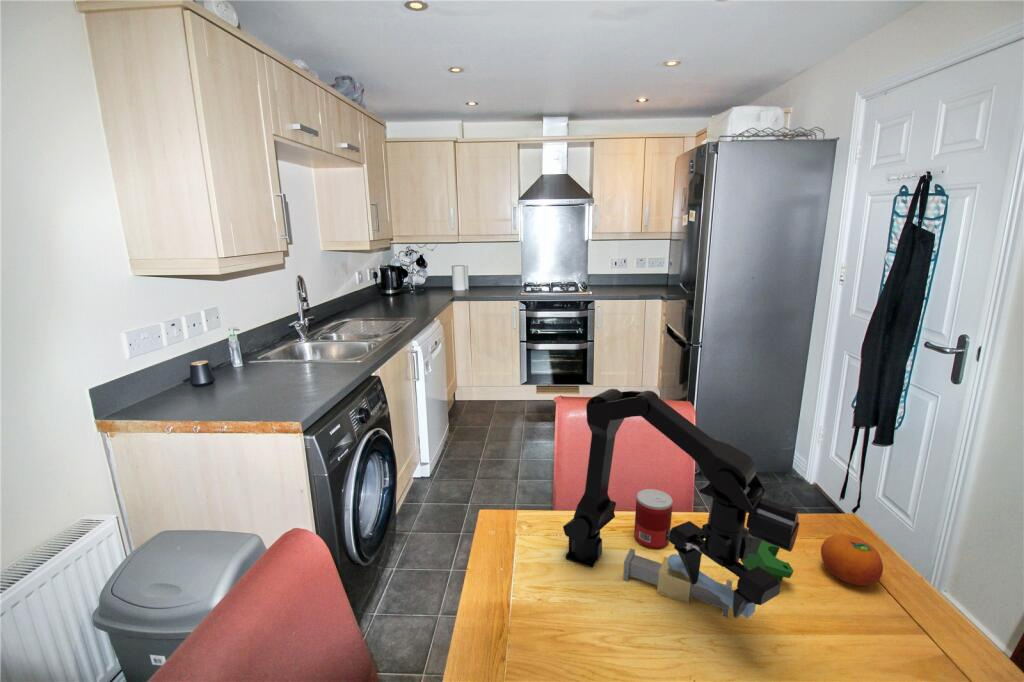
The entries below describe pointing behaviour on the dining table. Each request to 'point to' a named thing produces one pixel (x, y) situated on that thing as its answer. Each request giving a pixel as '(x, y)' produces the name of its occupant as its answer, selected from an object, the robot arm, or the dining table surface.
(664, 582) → the pipe valve
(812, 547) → the dining table surface
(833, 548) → the fruit
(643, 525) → the canned food
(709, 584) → the lever
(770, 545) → the green bracket
